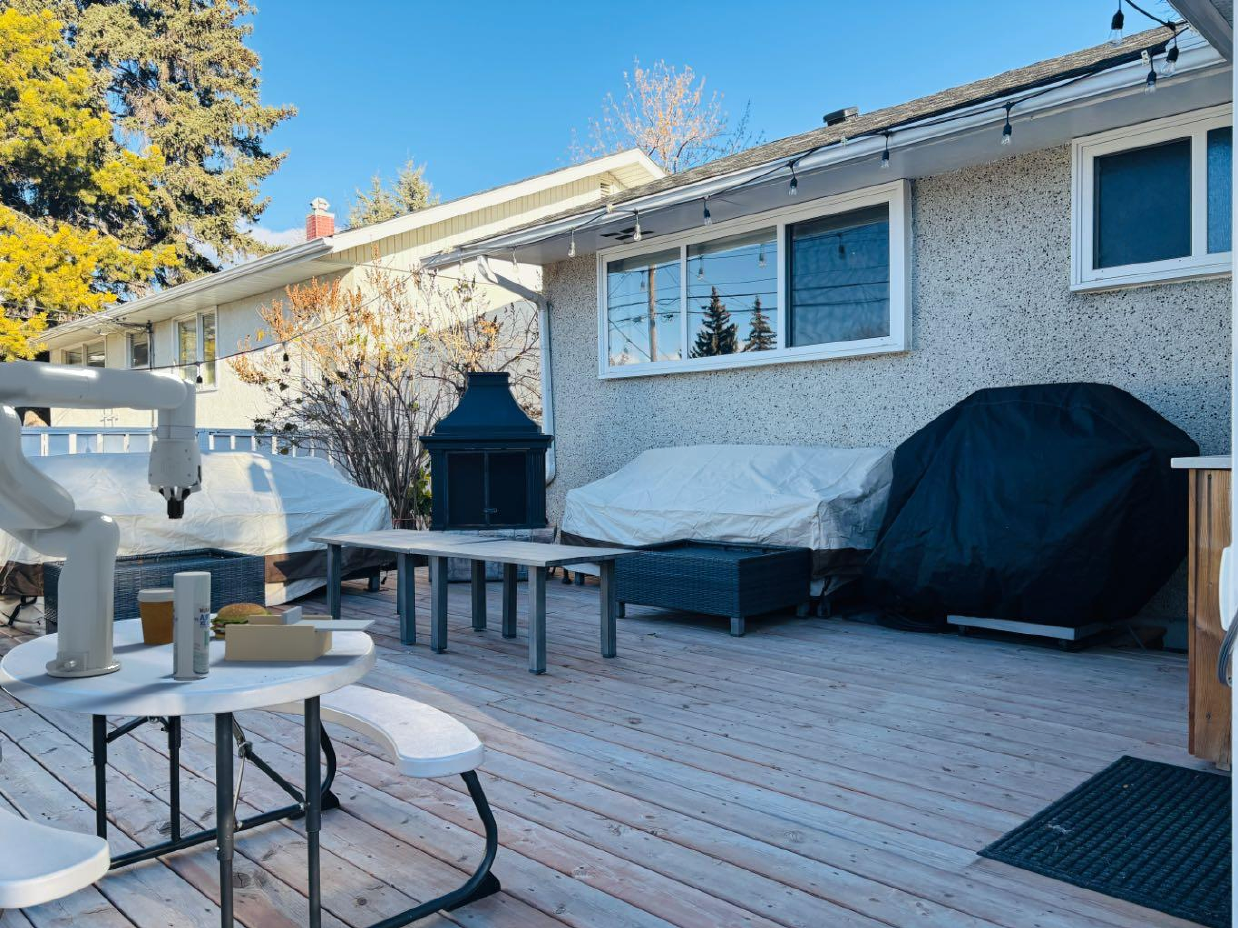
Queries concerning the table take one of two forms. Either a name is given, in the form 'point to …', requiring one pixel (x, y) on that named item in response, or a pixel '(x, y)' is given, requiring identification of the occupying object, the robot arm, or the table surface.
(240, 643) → the mailer box
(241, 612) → the food
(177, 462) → the robot arm
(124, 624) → the table surface
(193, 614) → the spray can
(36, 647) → the table surface
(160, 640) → the disposable coffee cup
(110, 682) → the table surface
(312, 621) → the lid
